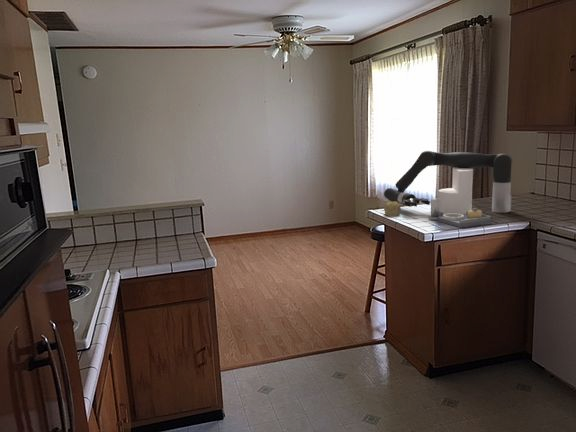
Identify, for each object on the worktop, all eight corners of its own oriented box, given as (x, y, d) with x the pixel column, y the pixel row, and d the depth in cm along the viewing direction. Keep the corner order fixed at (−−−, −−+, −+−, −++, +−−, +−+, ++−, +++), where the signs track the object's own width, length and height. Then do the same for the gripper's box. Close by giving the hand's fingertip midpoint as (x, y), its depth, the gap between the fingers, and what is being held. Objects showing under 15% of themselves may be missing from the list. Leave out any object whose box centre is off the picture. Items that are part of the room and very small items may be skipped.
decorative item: (394, 222, 274) (405, 208, 272) (380, 212, 275) (391, 198, 272) (393, 219, 283) (404, 206, 281) (380, 209, 284) (390, 196, 281)
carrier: (467, 216, 263) (468, 203, 261) (491, 222, 246) (492, 208, 244) (437, 220, 256) (438, 207, 255) (460, 227, 239) (460, 212, 238)
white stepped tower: (469, 208, 285) (471, 167, 280) (473, 214, 267) (475, 170, 262) (437, 208, 290) (438, 167, 285) (438, 214, 272) (439, 171, 267)
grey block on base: (436, 217, 264) (436, 197, 262) (443, 219, 258) (444, 199, 256) (425, 219, 262) (426, 198, 260) (433, 221, 256) (433, 200, 254)
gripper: (396, 194, 281) (412, 198, 266) (417, 192, 285) (433, 196, 270) (396, 206, 282) (412, 211, 267) (416, 204, 287) (433, 209, 272)
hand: (422, 203), depth 269 cm, fingers open, 8 cm apart
